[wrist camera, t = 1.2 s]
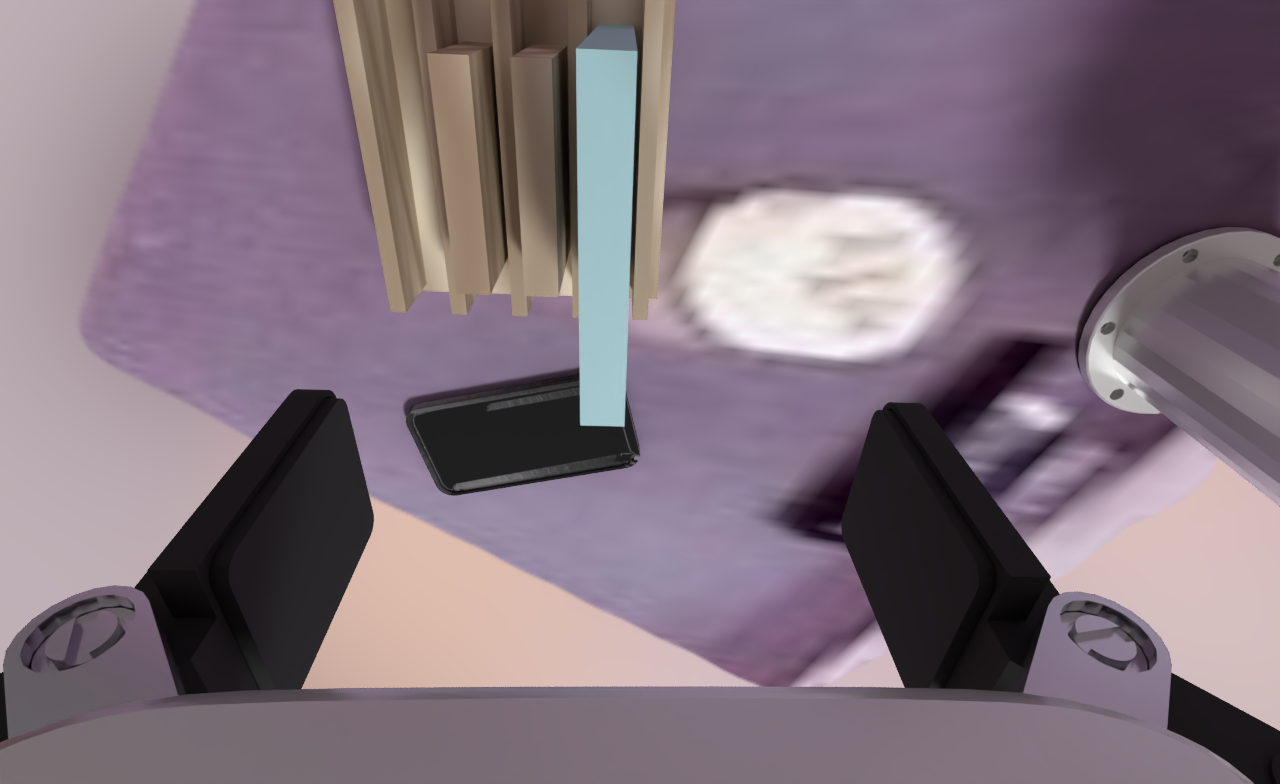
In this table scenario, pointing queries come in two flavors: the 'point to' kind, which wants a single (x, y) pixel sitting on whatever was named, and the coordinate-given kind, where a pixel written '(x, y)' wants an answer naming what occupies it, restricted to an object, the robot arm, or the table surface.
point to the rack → (407, 140)
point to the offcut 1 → (470, 162)
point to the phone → (516, 437)
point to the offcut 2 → (542, 165)
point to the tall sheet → (605, 216)
